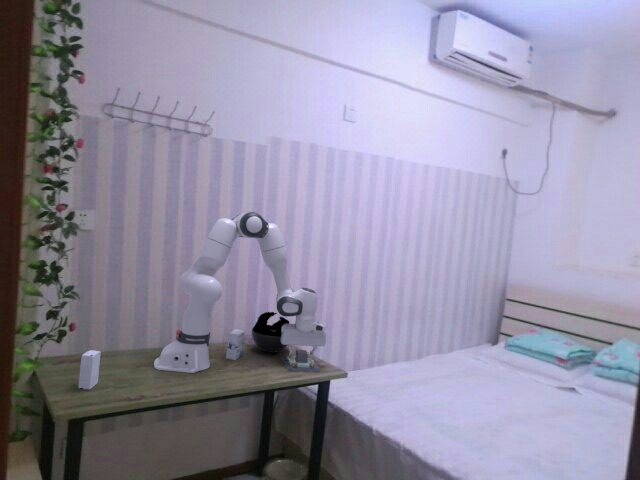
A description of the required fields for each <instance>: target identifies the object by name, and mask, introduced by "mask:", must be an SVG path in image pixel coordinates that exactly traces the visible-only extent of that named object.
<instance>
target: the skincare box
mask: <svg viewBox="0 0 640 480" xmlns="http://www.w3.org/2000/svg"><path fill="white" fill-rule="evenodd" d="M100 363H101V351H100V350H93V349H92V350H91V349H90V350H88V351H86V352H84V353H83V354H81V360H80V367H79V378H78V389H80V388H83V389H82V390H91V389H92V388H94V387H95V386H96V385H97V384H98V383H99V374H100V372H99V371H100Z"/></svg>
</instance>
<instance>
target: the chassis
mask: <svg viewBox="0 0 640 480" xmlns="http://www.w3.org/2000/svg"><path fill="white" fill-rule="evenodd" d="M289 353H290V351H289V352H288V356H282V361H283V364H284V366H285V368H286V370H287V372H303V373H304V372H307V373H320V371H321V368H320V367H319V366H318V363H316V361H315V359H314V358H313V357H310V351H309V352H307V353H308V355H307V358H311V359H312V365H310V366H309V368H305V367H297V365H295V359H294V360H293V365H290V364H289V362H288V360H287V358H288V357H292V355H290V354H289ZM314 363H315V364H314Z"/></svg>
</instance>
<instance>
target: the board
mask: <svg viewBox="0 0 640 480" xmlns="http://www.w3.org/2000/svg"><path fill="white" fill-rule="evenodd" d="M307 355H308V352H307V350H306V349H296V350H295V355H294V354H293V355H292V356H291V357H289V356H287V357H288V358H287V360H288V362H289V364H290V365H293V360H294V359H295V365H297V367H305V368H309V366H310V365H312V359H311V358H312V357H310V358H307ZM314 364H315V363H314Z"/></svg>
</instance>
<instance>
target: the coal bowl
mask: <svg viewBox="0 0 640 480" xmlns="http://www.w3.org/2000/svg"><path fill="white" fill-rule="evenodd" d="M277 314H278V313H277V312H274V311H267V312H264V313H261V314H260V315H259V316H258V317H257V321H256V322H255V325H254V326H253V327H252V328H251V337H252V340H253V342H254V344H255V345H256V346H257V347H258V348H259V349H261V350H262V351H264V352H267V353H277V352H280V351H282V350H284V349H286V348H287V347H288V345H283V344H282V343H281V341H280V340H281V335H282V332H281V329H282V326H283V325H284V324H291V322H290V320H288V319H286V318H285V317H284V316H279V320H277V321H276V322H274V323H273V324H272V325H271V324H268V320H270V319H271V318H272V317H274V316H275V315H277ZM284 326H285V325H284Z"/></svg>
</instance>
